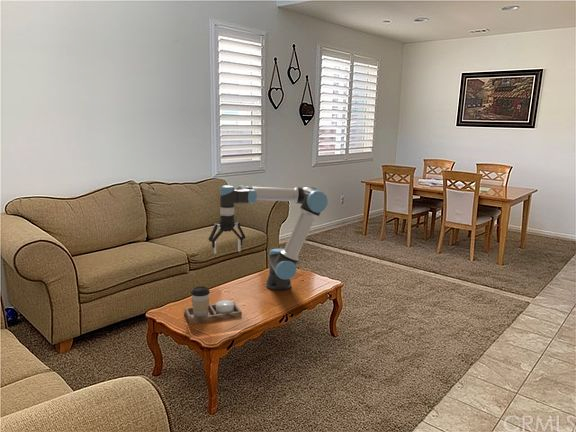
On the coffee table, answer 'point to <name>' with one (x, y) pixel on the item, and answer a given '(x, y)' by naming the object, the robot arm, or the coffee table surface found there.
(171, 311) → the coffee table surface
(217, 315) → the box
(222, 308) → the white ceramic dome
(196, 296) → the coffee cup
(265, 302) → the coffee table surface
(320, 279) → the coffee table surface
